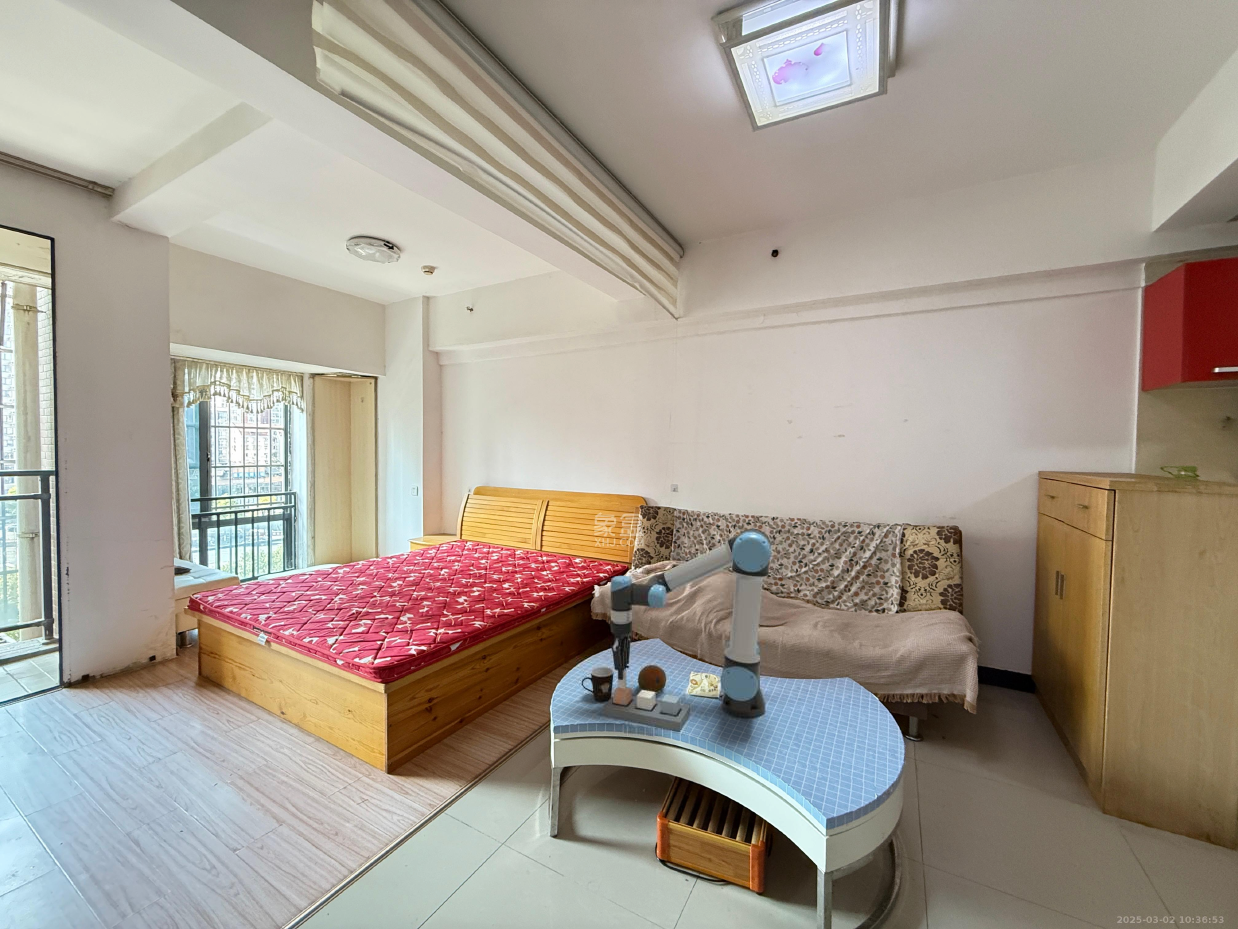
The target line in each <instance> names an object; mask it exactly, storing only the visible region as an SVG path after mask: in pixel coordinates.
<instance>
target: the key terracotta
mask: <svg viewBox="0 0 1238 929" xmlns="http://www.w3.org/2000/svg"><path fill="white" fill-rule="evenodd" d="M632 692H633V691H632V687H629V686H628V687H627V686H626V688H625V689H623V688H618V686H617V687H616V688H615V689H614V690H612V697H613V703H617V704H622V705H627V704H628V703H629V702H630V701H631V699H632V694H633V693H632ZM622 705H621V706H622Z"/></svg>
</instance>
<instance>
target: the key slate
mask: <svg viewBox="0 0 1238 929" xmlns="http://www.w3.org/2000/svg"><path fill="white" fill-rule="evenodd" d="M661 701H662V712H663V713H668V714H673V715H676V714H677V713H678V711H679V710H680V704H681V696H679V695H672V694H667V693H666V694H665V695H664V697H663V698H662V699H661Z"/></svg>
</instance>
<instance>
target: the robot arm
mask: <svg viewBox="0 0 1238 929" xmlns="http://www.w3.org/2000/svg"><path fill="white" fill-rule="evenodd" d="M771 555H772V543H771V539H770V537H769V536H768V535H767V534H766V533H765V532H764V531H762V530H761V529H759V528H754V527H752V528H746V529H744V530H742V531H741V532H739V533H738V534H736V535H735V536H733V537H731V538H728V539H727V540H726V542H725V544H722V545H720V546H719V547H716V548H714V549H712V550H710V551H708V552H705V553H704V554H703V553H702V554H701V555H698V556H697V557H694V558H692V559H690V560H688V561H684V562H683V563H681V564H679V565H676V566H675V567H673V568H670V569H668V570H665V571H664V572H661V573H659V574H655V575H652V576H650V578H649V579H648V580H647V582H645V583H635V582H633V581H632V577H630V576H626V575H618V576H614V577H612V578H611V579H610V591H609V592H610V611H609V613H610V620H611V622H610V632H611V633H612V634H613V635H614V640H613V641H614V644H613V645H611V646H610V649H611V651H612V660H613V667H614V670H615V671H617V687H618V688H623V689H625V688H626V687H627V669H629V668H630V666H629V664H630V653H631V652H630V651H631V641H632V635H629V634H632V632H633V606H637V607H647V608H648V607H649V608H654V609H655V608H663V607H665V605H666V602H667V594H669V593H672V592H673V591H676V590H677V589H681V588H682V587H685V586H687V585H690V584H691V583H694V582H696V581H699V580H701V579H703V578H705V577H708V576H710V575H712V574H715V573H716V572H719V571H722V570H724V569H726V568H728V567H731V572H732V573H733V574H734V576H735V583H734V594H733V595H734V596H733V606H732V615H731V616H732V617H731V624H730V625H731V626H730V627H731V628H730V637H729V638H730V639H729V641H727V642H726V643H725V649H724V653H723V663H722V671H721V672H722V673H721V675H720V678H719V679H720V684H721V688H722V690H723V693H722V697H721V708H722V709H723V711H724V712H726V713H728V714H729V715H731V716H735V717H737V718H742V719H743V718H745V719H747V718H748V719H751V718H757V717H761V716H762V715H764V714H765V713H766V701H765V697H764V695H763V692H762V689H761V672H760V671H761V668H760V666H761V656H760V654H761V652H760V646H759V645H758V637H759V635H758V634H759V626H760V613H761V605H762V604H761V603H762V596H763V595H762V594H763V593H762V592H763V582H764V579H766V578H768V577H769V571H770V561H771V560H770V559H771Z"/></svg>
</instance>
